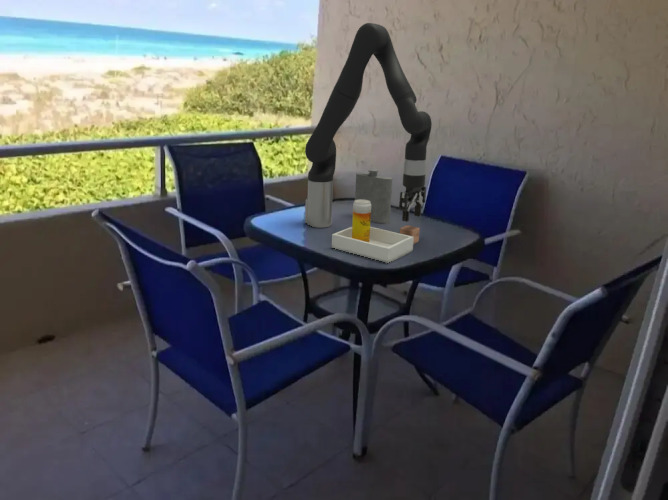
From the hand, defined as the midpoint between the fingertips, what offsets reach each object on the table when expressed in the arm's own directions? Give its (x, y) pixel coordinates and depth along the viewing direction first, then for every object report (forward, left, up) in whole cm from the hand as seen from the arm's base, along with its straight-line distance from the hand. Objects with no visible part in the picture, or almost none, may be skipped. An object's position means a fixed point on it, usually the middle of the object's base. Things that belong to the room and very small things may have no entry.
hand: (411, 218), depth 201 cm
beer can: (-10, -16, -8) cm, 21 cm away
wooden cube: (0, 0, -9) cm, 9 cm away
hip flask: (-25, +14, -9) cm, 30 cm away
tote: (-5, -16, -8) cm, 19 cm away
